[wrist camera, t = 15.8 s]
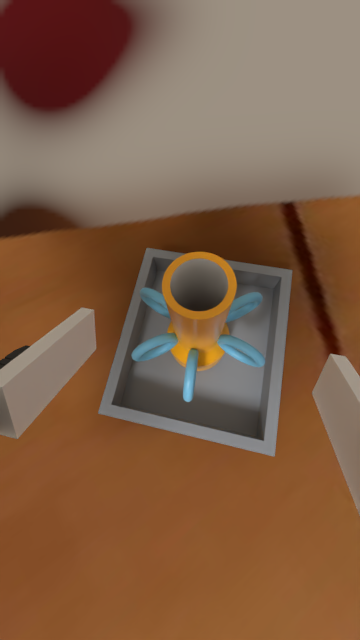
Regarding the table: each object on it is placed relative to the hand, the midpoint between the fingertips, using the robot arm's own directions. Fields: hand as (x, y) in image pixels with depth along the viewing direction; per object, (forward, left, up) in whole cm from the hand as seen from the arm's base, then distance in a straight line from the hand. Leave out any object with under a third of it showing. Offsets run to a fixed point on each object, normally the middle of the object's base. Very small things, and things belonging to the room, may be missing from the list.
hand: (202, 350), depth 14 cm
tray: (0, +3, -14) cm, 15 cm away
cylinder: (-1, +3, -13) cm, 14 cm away
